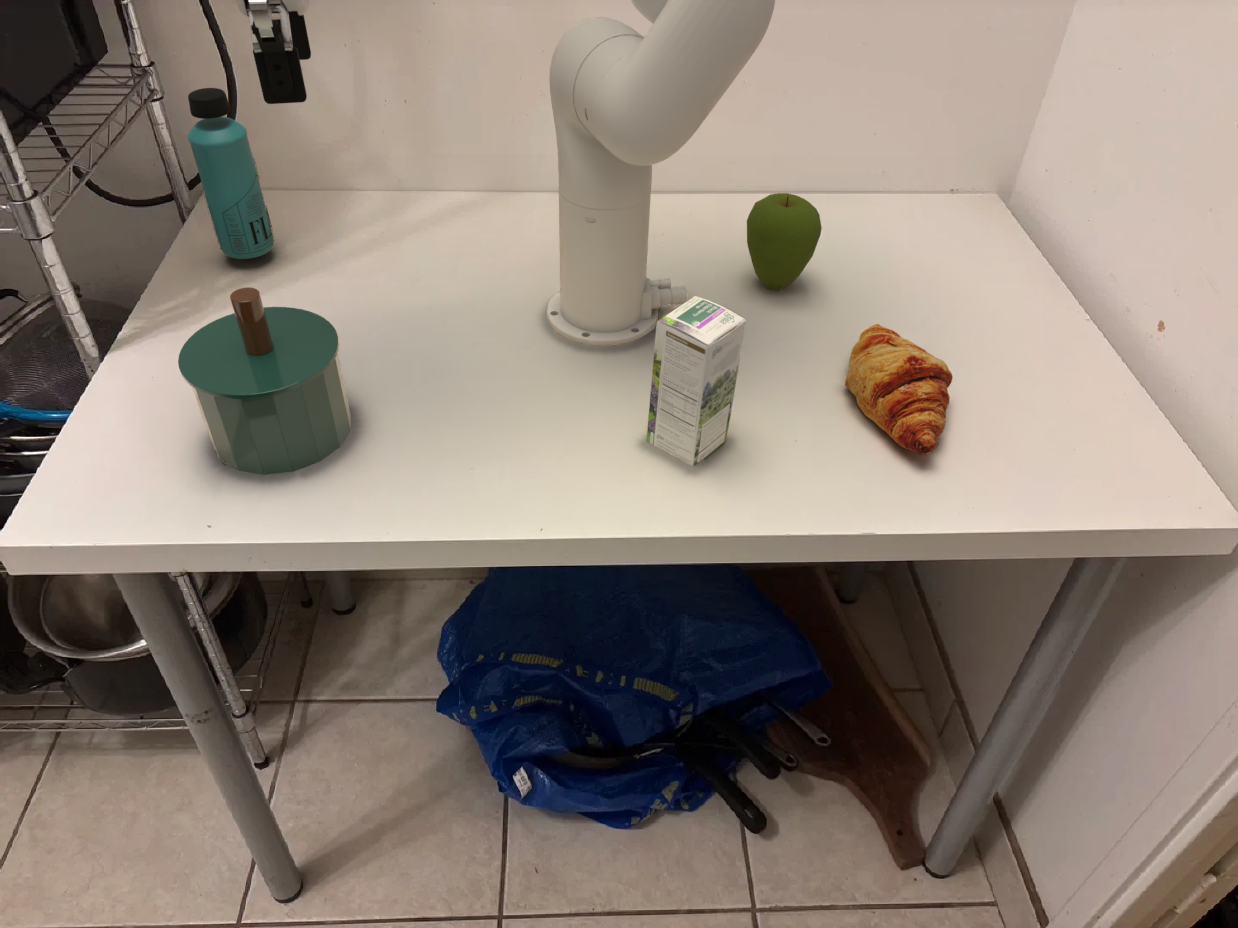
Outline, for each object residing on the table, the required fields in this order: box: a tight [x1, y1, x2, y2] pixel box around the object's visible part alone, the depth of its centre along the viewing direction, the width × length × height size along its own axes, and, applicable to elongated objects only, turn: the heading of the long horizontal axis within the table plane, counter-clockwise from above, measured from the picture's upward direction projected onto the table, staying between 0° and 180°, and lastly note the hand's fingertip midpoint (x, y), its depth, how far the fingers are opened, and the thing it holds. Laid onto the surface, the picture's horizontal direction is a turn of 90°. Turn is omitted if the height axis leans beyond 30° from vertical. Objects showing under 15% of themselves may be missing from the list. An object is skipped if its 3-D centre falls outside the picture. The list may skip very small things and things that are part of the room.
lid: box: [177, 287, 340, 399], centre depth 81 cm, size 14×14×7 cm
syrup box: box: [645, 295, 747, 467], centre depth 85 cm, size 6×6×14 cm
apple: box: [746, 192, 823, 291], centre depth 109 cm, size 9×8×12 cm
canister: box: [191, 352, 352, 476], centre depth 86 cm, size 13×13×10 cm
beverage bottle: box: [187, 87, 276, 260], centre depth 107 cm, size 6×7×20 cm
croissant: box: [844, 323, 953, 455], centre depth 94 cm, size 21×10×8 cm, turn 3°
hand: (289, 79), depth 77 cm, fingers open, 9 cm apart
